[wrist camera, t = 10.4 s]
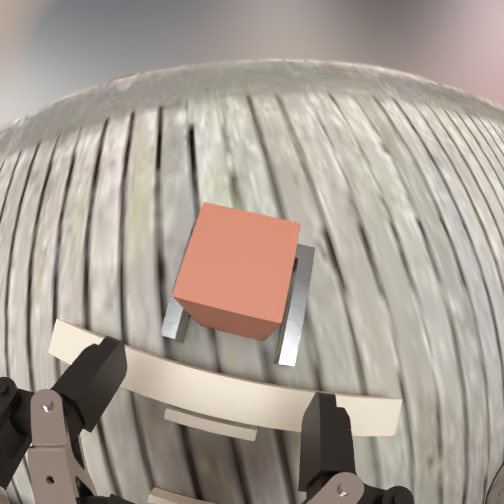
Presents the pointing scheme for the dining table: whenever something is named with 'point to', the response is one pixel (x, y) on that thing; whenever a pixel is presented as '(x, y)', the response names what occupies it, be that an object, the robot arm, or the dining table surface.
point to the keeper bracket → (293, 312)
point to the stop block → (237, 271)
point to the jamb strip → (223, 398)
